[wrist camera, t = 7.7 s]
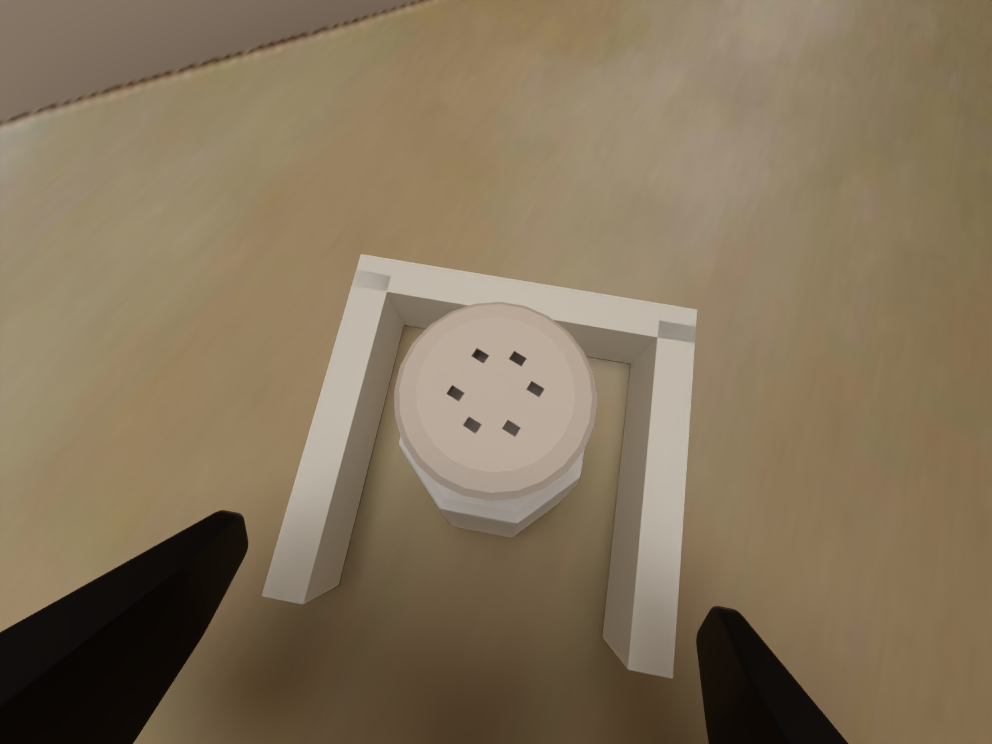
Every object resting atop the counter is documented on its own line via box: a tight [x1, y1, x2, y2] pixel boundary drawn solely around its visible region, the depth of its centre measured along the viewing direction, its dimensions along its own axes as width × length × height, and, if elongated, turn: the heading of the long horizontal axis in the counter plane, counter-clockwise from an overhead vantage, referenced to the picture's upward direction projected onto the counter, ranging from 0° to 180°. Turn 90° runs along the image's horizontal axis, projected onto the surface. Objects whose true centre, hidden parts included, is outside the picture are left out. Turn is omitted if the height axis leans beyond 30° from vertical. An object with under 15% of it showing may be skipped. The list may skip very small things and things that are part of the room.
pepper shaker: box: [394, 302, 597, 538], centre depth 11 cm, size 5×5×11 cm
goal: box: [262, 254, 697, 679], centre depth 15 cm, size 11×11×3 cm
